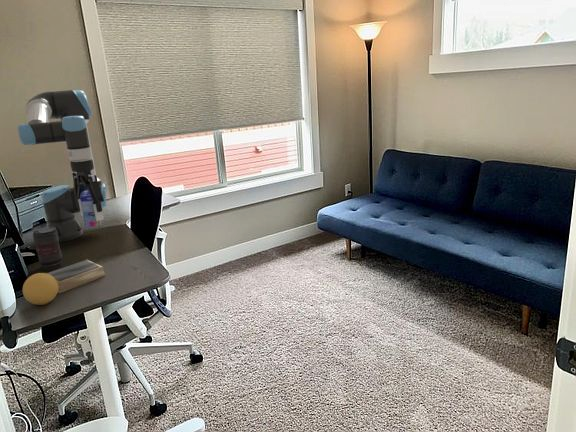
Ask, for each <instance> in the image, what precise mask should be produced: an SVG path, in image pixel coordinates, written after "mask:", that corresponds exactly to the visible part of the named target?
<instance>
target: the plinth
mask: <svg viewBox="0 0 576 432" xmlns="http://www.w3.org/2000/svg"><path fill="white" fill-rule="evenodd" d="M48 273H49V274H51V275H52V276H53V277H54V278H55V279H56V280H57V281H58V283H59V286H58V292H57V293H59V294H61V293H64V292H66V291H67V292H68V291H69V290H72V289H74V288H77V287H80V286H82V285H85V284H88V283H90V282H92V281H95V280H98V279H100V278H103V277H106V276H105V275H106V273H105V269H104V266H103V265H100V264H98V263H95V262H94V261H91V260H89V259H84V260H82V261H79V262H76V263H73V264H70V265H67V266H65V267H62V268H58V269H56V270H53V271H50V272H48Z"/></svg>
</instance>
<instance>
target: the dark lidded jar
mask: <svg viewBox="0 0 576 432" xmlns="http://www.w3.org/2000/svg"><path fill="white" fill-rule="evenodd" d="M32 237H33V241H34V246H35V247H36V248H35V251H36V252H35V253H37V258H38V262H39V263H40V266H42V269H43V270H53V269H57V268H59V267H61V266H62V265H63V253H62V250H61V247H60V246H61V245H60V242H59V238H58V234H57V231H56V228H55V227H47V226H43V227H38V228H35V229H34V230H33V231H32Z"/></svg>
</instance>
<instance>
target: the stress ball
mask: <svg viewBox="0 0 576 432" xmlns="http://www.w3.org/2000/svg"><path fill="white" fill-rule="evenodd" d="M58 286H59V283H58V281H57V280H56V279H55V278H54V277H53V276H52V275H51V274H49V272H36V273H33V274H32V275H30V276H29V277H28V278H27V279H26V280H25V281H24V283H23V286H22V294H23V297H24V298H25V300H27V302H29V303H30V304H33V305H40V306H44V305H48V304H49V303H50V302H51V301H53V300H54V299H55V298H56V297H57V294H58V293H59V292H58Z"/></svg>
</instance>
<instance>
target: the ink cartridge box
mask: <svg viewBox="0 0 576 432" xmlns="http://www.w3.org/2000/svg"><path fill="white" fill-rule="evenodd" d="M80 201H81V207H82V212H83V216H82V217H83V218H82V219H83V222H84V228H85V229H90V228H97V227H98V228H99V227H101V222H102V220H99V221H96V217H95V212H94V207H93V204H92V203H93V200H92V198H91V195H90V193H89V191H88V190H87V191H82V192H81V195H80Z"/></svg>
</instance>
